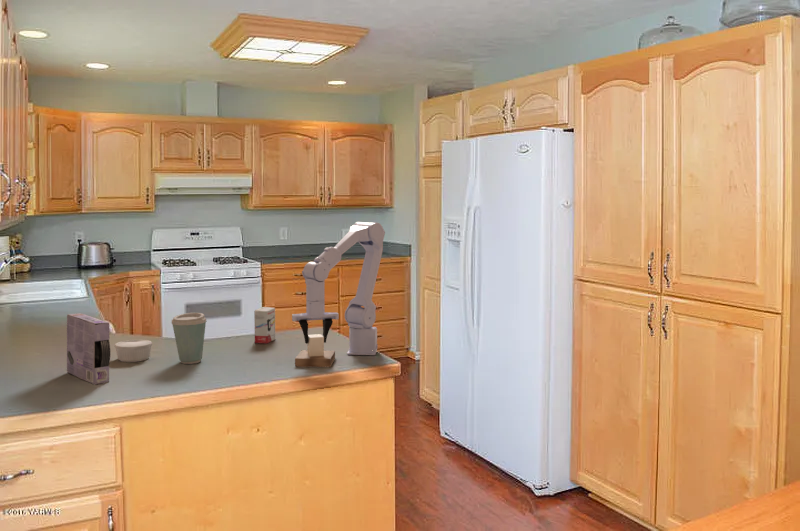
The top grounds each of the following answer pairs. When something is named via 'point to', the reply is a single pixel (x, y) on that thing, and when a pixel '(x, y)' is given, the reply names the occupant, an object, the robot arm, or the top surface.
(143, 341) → the ramekin
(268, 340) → the ink box
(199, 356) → the disposable coffee cup
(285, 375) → the top surface
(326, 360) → the walnut block
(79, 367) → the cake pan box
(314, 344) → the cream block
